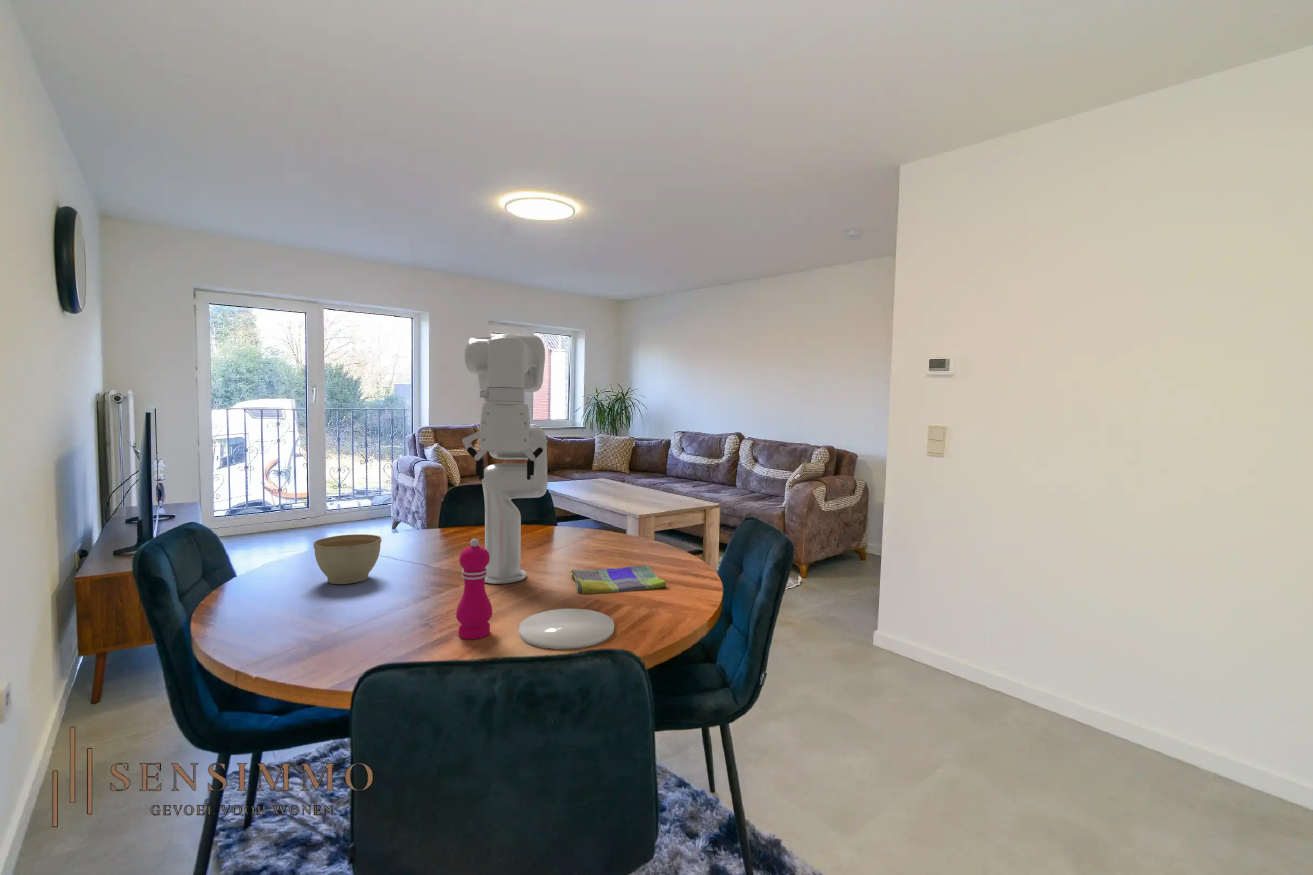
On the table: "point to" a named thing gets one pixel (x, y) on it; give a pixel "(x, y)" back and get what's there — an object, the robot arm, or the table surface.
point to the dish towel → (616, 580)
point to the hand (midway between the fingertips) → (505, 479)
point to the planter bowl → (347, 557)
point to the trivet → (566, 628)
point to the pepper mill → (474, 593)
